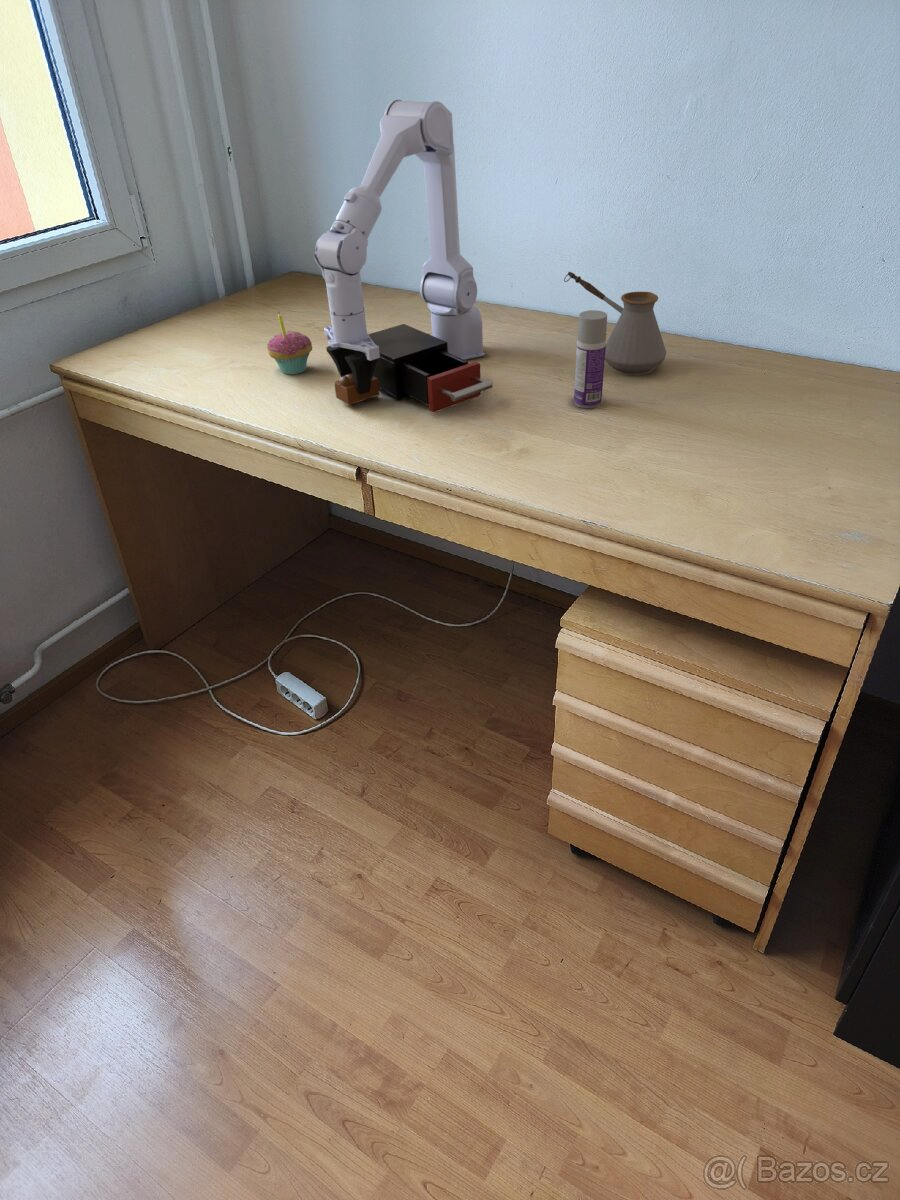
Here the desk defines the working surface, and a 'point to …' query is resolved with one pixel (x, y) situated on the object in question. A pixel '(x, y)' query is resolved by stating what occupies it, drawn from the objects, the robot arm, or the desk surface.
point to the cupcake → (290, 350)
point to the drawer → (441, 379)
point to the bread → (353, 389)
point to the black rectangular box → (400, 354)
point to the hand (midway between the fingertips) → (356, 388)
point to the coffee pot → (632, 332)
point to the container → (590, 359)
